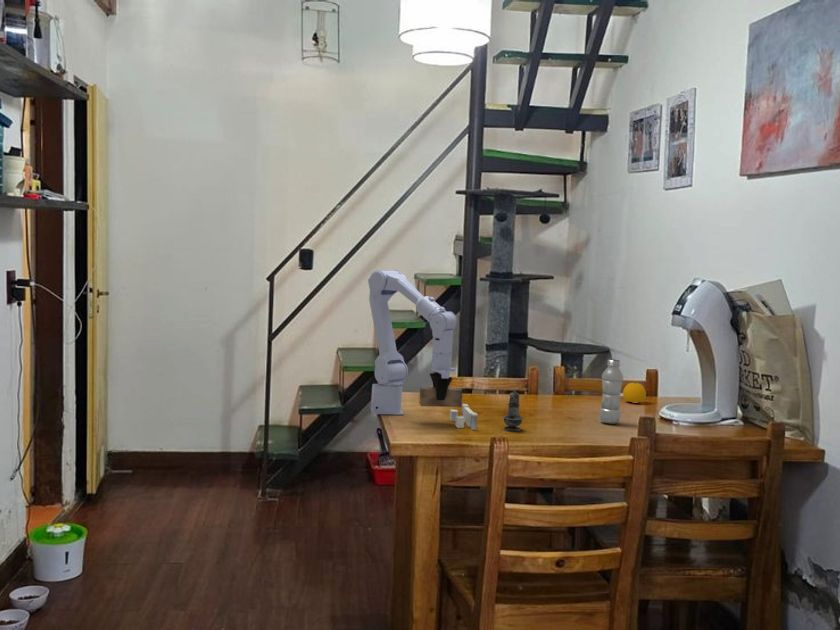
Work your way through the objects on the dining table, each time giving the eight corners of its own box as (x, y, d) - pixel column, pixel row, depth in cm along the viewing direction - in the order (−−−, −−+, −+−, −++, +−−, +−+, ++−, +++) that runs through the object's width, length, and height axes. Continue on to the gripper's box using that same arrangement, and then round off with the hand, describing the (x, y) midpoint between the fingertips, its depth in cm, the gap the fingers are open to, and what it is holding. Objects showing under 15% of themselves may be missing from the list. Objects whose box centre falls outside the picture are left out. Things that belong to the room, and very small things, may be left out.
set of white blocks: (457, 429, 233) (458, 414, 233) (448, 418, 248) (449, 403, 248) (476, 429, 234) (477, 414, 234) (466, 418, 249) (467, 404, 249)
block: (421, 406, 237) (422, 389, 237) (419, 403, 241) (420, 387, 240) (461, 407, 239) (462, 390, 238) (459, 404, 242) (460, 388, 242)
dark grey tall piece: (519, 427, 241) (521, 387, 240) (524, 432, 235) (527, 391, 234) (499, 427, 240) (502, 386, 239) (505, 431, 234) (507, 390, 233)
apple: (629, 405, 286) (630, 384, 286) (618, 400, 294) (620, 380, 293) (649, 405, 288) (651, 384, 288) (638, 400, 296) (640, 380, 295)
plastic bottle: (609, 426, 249) (614, 361, 247) (593, 421, 254) (598, 358, 253) (624, 425, 252) (629, 361, 250) (608, 420, 258) (613, 358, 256)
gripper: (460, 356, 232) (457, 403, 233) (451, 350, 246) (448, 394, 247) (435, 356, 231) (433, 403, 232) (428, 349, 245) (425, 393, 246)
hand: (439, 398), depth 239 cm, fingers closed on block, 3 cm apart
